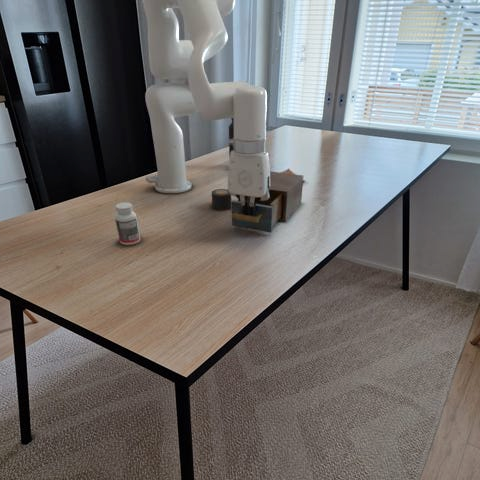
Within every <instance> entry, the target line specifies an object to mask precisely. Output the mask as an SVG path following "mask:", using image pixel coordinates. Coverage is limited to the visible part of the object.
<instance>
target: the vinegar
mask: <svg viewBox="0 0 480 480" xmlns="http://www.w3.org/2000/svg"><path fill="white" fill-rule="evenodd" d="M230 119H231V123H230V124H229V125H228V140H229V139H233V138H234V118H230ZM233 150H234V149H233V146H232V145H229V144H228V157H229V159H230V153H231V151H233ZM229 159H228V160H229Z"/></svg>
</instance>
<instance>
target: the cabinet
mask: <svg viewBox="0 0 480 480" xmlns="http://www.w3.org/2000/svg"><path fill="white" fill-rule="evenodd" d="M295 174H296V173H294V174H287V173H280V171H279V172H277V171H271V170H270V190H269V192H270V193H277V194H284V205H283V215H282V216H281V217H280V219H279V220H278V221H277V222H284V223H285V222H287V221H288V219H290V217H291V216H292V215H293V214H294V212H296V210H297V209H298V208H299V207H300V206H301V204H302V197H303V187H304V186H303V185H304V182H303V180H304V174H303V175H302V174H296V175H295Z"/></svg>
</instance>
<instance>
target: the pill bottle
mask: <svg viewBox="0 0 480 480" xmlns="http://www.w3.org/2000/svg"><path fill="white" fill-rule="evenodd" d="M133 209H134V207H133V204H132V203H130V202H120V203H117V204H116V205H115V211H116V214H115V216H114V220H115V223H116V224H115V225H116V229H117V234H118V235H117V236H118V239H119V243H120V244H121V245H124V246H133V245H136V244H138V243H139V242H140V241H141V234H140V229H139V223H138V216H137V214H136V212H134V210H133Z"/></svg>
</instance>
